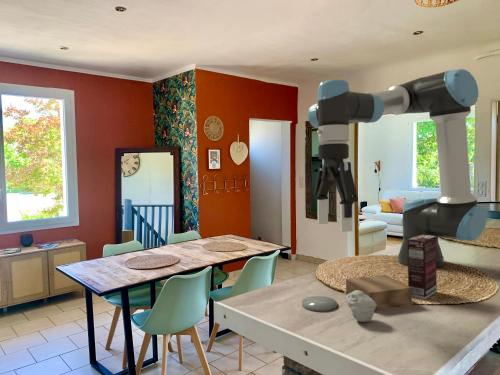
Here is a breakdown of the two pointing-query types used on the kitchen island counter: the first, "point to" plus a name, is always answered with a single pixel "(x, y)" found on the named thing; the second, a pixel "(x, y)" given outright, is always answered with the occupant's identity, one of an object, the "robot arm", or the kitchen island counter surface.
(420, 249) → the supplement box
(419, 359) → the kitchen island counter surface
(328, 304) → the grey oval dome
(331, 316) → the kitchen island counter surface
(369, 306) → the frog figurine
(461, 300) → the kitchen island counter surface
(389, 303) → the walnut block
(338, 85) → the robot arm
